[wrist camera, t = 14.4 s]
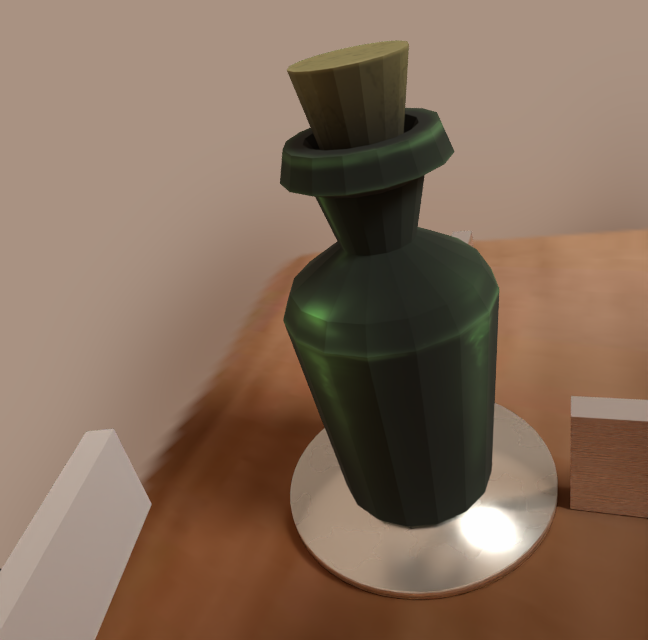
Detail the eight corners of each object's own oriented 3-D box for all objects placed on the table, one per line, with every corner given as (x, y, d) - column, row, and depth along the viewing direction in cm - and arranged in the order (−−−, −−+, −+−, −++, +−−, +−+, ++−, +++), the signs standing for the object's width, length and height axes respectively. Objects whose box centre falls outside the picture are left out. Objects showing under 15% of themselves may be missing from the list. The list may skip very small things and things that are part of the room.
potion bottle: (346, 570, 24) (215, 110, 15) (320, 437, 31) (220, 70, 22) (543, 519, 24) (531, 34, 15) (472, 398, 31) (435, 19, 22)
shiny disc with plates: (468, 294, 41) (462, 227, 39) (920, 503, 22) (966, 396, 19) (216, 424, 34) (189, 353, 32) (550, 885, 15) (547, 797, 13)
